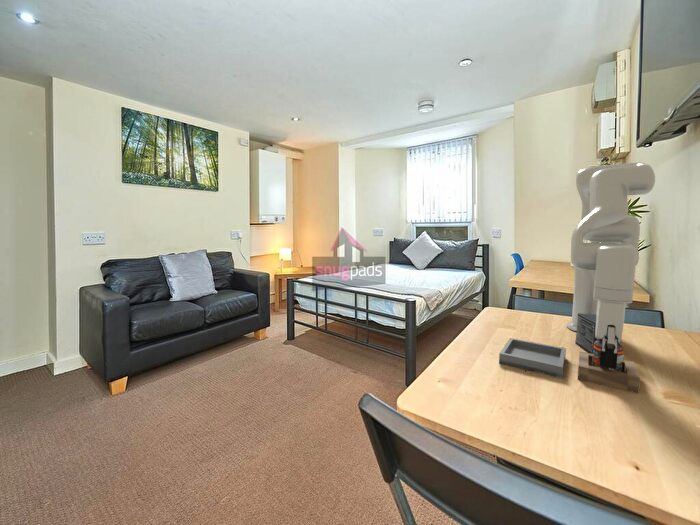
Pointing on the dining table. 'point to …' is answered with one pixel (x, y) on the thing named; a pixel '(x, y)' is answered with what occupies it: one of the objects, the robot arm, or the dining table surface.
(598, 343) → the supplement bottle
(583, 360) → the holder block
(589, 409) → the dining table surface
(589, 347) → the small box
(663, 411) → the dining table surface
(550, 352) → the tray
